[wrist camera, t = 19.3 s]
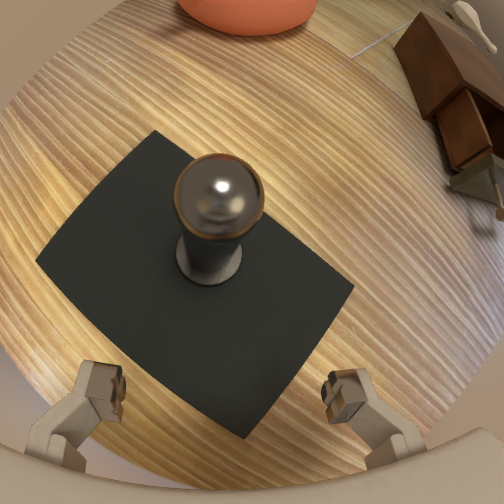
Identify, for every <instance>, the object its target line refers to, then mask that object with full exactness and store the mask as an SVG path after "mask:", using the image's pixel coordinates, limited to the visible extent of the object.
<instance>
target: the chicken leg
mask: <svg viewBox="0 0 504 504" xmlns="http://www.w3.org/2000/svg"><path fill="white" fill-rule="evenodd" d="M450 9H451V13H452V17H453V18H454V19H455V20H456V22H457V23H458V24H459V25H460V26H462V27H464V28H466V29H468V30H470V31H472V32H474V33H476V34H477V35H478V36H479V37H480V39H481V40H482V41H483V42H484V44H485V45H486V47H487V50H488V51H489V52H490V53H492V54H495V53H496V52H497V48H496V47H495V46H494V45H493V44H491V42H490V41H489V40H488V38H487V37H486V36H485V34H484V33H483V32H482V30H481V27H480V23H479V19H478V15H477V13H476V11H475V10H474V9H473V8H472V7H471V6H470V5H469V4H467V3H465V2H462V1H460V0H459V1H457V2H456V3H454V4H453V5H451V6H450Z"/></svg>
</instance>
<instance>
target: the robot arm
mask: <svg viewBox="0 0 504 504" xmlns="http://www.w3.org/2000/svg"><path fill="white" fill-rule="evenodd" d="M328 378H329V379H328V380H327V381H325V382H324V384H323V386H322V390H321V396H322V401H323V403H324V404H325V405H326V406H327V409H326V411H325V412H326V415H327V418H328V422H329V424H337V423H345V422H347V424H348V425H349V426H350V427H351V428H352V429H353V430H354V431H355V432H356V433H357V434H358V435H359V436H360V437H361V438H362V439H363V440H364V441H365V442H366V443H367V444H368V445H369V446H370V448H371V449H372V450H373V451H372V452H371V453H370V454H368V455H367V456H366V457H365V459H364V460H365V463H366V467H367V471H363V472H359V473H355V474H351V475H347V476H342V477H338V478H333V479H328V480H323V481H317V482H311V483H305V484H298V485H290V486H282V487H272V488H260V489H242V490H197V489H179V488H167V487H157V486H149V485H141V484H134V483H128V482H123V481H117V480H112V479H107V478H102V477H98V476H94V475H90V474H85V469H86V459H85V458H84V457H83V456H82V455H81V454H80V453H79V452H78V451H77V450H76V449H77V448H78V447H79V446H80V445H81V444H82V442H83V441H84V440H85V439H86V438H87V437H88V436H89V434H90V433H91V432H92V431H93V430H94V429H95V427H96V426H97V425H98V424H99V423H100V422H101V420H106V421H112V422H119V423H121V420H122V413H123V407H122V404H121V402H122V401H123V400H124V399H125V395H126V381H125V377H124V376H122V368H121V366H119V365H113V364H106V363H100V362H96V361H89V360H83V362H82V363H81V366H80V369H79V372H78V375H77V378H76V382H75V385H74V388H73V392H72V394H69V393H68V394H67V395H66V396H65V397H64V398H63V399H61V400H60V401H59V402H58V403H57V404H56V405H54V406H53V407H52V408H51V409H50V410H49V411H47V412H46V413H45V414H44V415H43V416H42V417H41V418H39V419H38V420H37V421H36V422H35V423H34V424H32V426H31V429H30V433H29V437H28V441H27V445H26V449H25V452H24V453H21V452H19V451H16V450H14V449H12V448H9V447H7V446H5V445H3V444H1V443H0V504H504V445H503V443H502V442H501V440H500V439H499V438H498V437H496V436H495V435H494V434H492V433H491V432H489V431H488V430H486V429H484V428H482V427H478V428H475V429H473V430H471V431H469V432H467V433H465V434H463V435H461V436H459V437H457V438H455V439H453V440H451V441H448V442H446V443H444V444H441V445H439V446H437V447H434V448H432V449H430V450H427V448H426V445H425V443H424V441H423V438H422V435H421V433H420V431H419V428H418V426H416V425H415V424H414V423H412V422H411V421H410V420H409V419H407V418H406V417H405V416H403V415H402V414H401V413H400V412H398V411H397V410H396V409H394V408H393V407H392V406H391V405H389V404H388V403H387V402H386V401H384V400H383V399H382V398H381V399H379V398H378V395H377V393H376V391H375V388H374V386H373V384H372V381H371V379H370V376H369V374H368V372H367V370H366V369H365V368H359V369H348V370H339V371H332V372H330V373H329V375H328Z"/></svg>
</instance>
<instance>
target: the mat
mask: <svg viewBox="0 0 504 504" xmlns="http://www.w3.org/2000/svg"><path fill="white" fill-rule="evenodd" d="M194 160H196V159H194V158H193V157H192V156H190V155H189V154H188V153H186V152H185V151H183V150H182V149H181V148H179V147H178V146H177V145H175V144H174V143H172V142H171V141H170V140H168V139H167V138H166V137H164V136H163V135H161V134H160V133H159V132H157V131H156V130H154V131H153V132H152V133H151V134H150V135H149V136H148V137H147V138H145V139H144V140H143V141H142V142H141V143H140V144H139V145H138V146H137V147H136V148H134V149H133V150H132V151H131V152H130V153H129V154H128V155H127V156H126V157H125V158H124V159H123V160H122V161H121V162H120V163H119V164H118V165H117V166H116V167H115V168H114V169H113V170H112V171H111V172H110V173H109V174H108V175H107V176H106V177H105V178H104V179H103V180H102V181H101V182H100V183H99V184H98V185H97V186H96V187H95V188H94V190H93V191H92V192H91V193H90V194H89V195H88V196H87V197H86V198H85V199H84V201H83V202H82V203H81V204H80V205H79V206H78V207H77V208H76V210H75V211H74V212H73V213H72V214H71V215H70V217H69V218H68V219H67V220H66V221H65V223H64V224H63V225H62V226H61V227H60V229H59V230H58V231H57V232H56V234H55V235H54V236H53V237H52V239H51V240H50V241H49V243H48V244H47V245H46V247H45V248H44V249H43V250H42V252H41V253H40V255H39V256H38V257H37V259H36V260H35V261H36V262H37V263H38V265H39V266H40V267H41V268H42V270H43V271H44V272H45V273H46V274H47V275H48V277H49V278H50V279H51V280H52V281H53V282H54V283H55V285H56V286H57V287H58V288H59V289H60V290H61V291H62V292H63V294H64V295H65V296H66V297H67V298H68V299H69V300H70V301H71V302H72V303H73V304H74V305H75V306H76V307H77V308H78V309H79V310H80V311H81V313H82V314H83V315H84V316H85V317H86V318H87V319H88V320H89V321H90V322H91V323H93V324H94V325H95V326H96V327H97V328H98V329H99V330H100V331H101V332H102V333H103V334H104V335H105V336H106V337H107V338H108V339H109V340H110V341H112V342H113V343H114V344H115V345H116V346H117V347H118V348H119V349H120V350H122V351H123V352H124V353H125V354H126V355H127V356H128V357H130V358H131V359H132V360H133V361H134V362H135V363H137V364H138V365H139V366H140V367H141V368H143V369H144V370H145V371H146V372H148V373H149V374H150V375H151V376H152V377H154V378H155V379H156V380H158V381H159V382H160V383H161V384H163V385H164V386H165V387H167V388H168V389H169V390H171V391H172V392H173V393H175V394H176V395H177V396H179V397H180V398H181V399H183V400H184V401H186V402H187V403H188V404H190V405H191V406H193V407H194V408H196V409H197V410H198V411H200V412H201V413H203V414H204V415H206V416H207V417H209V418H210V419H212V420H213V421H215V422H216V423H218V424H220V425H221V426H223V427H224V428H226V429H228V430H229V431H231V432H232V433H234V434H236V435H237V436H239V437H241V438H242V439H245V438H246V437H247V436H248V435H249V433H250V432H251V431H252V430H253V429H254V428H255V426H256V425H257V424H258V423H259V421H260V420H261V419H262V418H263V417H264V415H265V414H266V413H267V412H268V410H269V409H270V408H271V407H272V405H273V404H274V403H275V401H276V400H277V399H278V398H279V396H280V395H281V394H282V392H283V391H284V390H285V389H286V387H287V386H288V385H289V383H290V382H291V381H292V379H293V378H294V376H295V375H296V374H297V372H298V371H299V370H300V368H301V367H302V365H303V364H304V363H305V361H306V360H307V358H308V357H309V356H310V354H311V353H312V351H313V350H314V348H315V347H316V346H317V344H318V343H319V341H320V340H321V338H322V337H323V335H324V334H325V332H326V331H327V329H328V328H329V326H330V325H331V323H332V322H333V320H334V319H335V317H336V315H337V314H338V312H339V311H340V309H341V308H342V306H343V304H344V303H345V301H346V300H347V298H348V296H349V295H350V293H351V291H352V290H353V288H354V285H353V284H352V283H350V282H349V281H348V280H347V279H346V278H345V277H343V276H342V275H341V274H340V273H339V272H337V271H336V270H335V269H334V268H333V267H331V266H330V265H329V264H328V263H327V262H325V261H324V260H323V259H322V258H321V257H319V256H318V255H317V254H316V253H315V252H313V251H312V250H311V249H310V248H308V247H307V246H306V245H305V244H304V243H302V242H301V241H300V240H299V239H297V238H296V237H295V236H294V235H292V234H291V233H290V232H289V231H287V230H286V229H285V228H284V227H283V226H281V225H280V224H279V223H277V222H276V221H275V220H274V219H272V218H271V217H270V216H269V215H267V214H266V213H265V212H264V211H263V212H262V215H261V218H260V220H259V222H258V223H257V225H256V226H255V227H254V229H253V230H252V231H251V232H250V233H249V234H248V235H246V236H245V237H243V239H242V241H241V244H242V249H243V257H242V262H241V265H240V267H239V269H238V271H237V272H236V273H235V275H234V276H233V277H232V278H231V279H230V280H229V281H227V282H226V283H224V284H222V285H220V286H216V287H201V286H198V285H195V284H193V283H191V282H190V281H189V280H187V279H186V278H185V277H184V276H183V274H182V273H181V271H180V270H179V267H178V265H177V261H176V257H175V248H176V243H177V240H178V238H179V236H180V234H181V233H182V227H181V225H180V224H179V222H178V220H177V218H176V216H175V213H174V209H173V202H172V198H173V190H174V186H175V183H176V181H177V179H178V177H179V175H180V174H181V172H182V171H183V170H184V169H185V167H186V166H187V165H189V164H190V163H191V162H193V161H194Z"/></svg>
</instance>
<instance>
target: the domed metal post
mask: <svg viewBox="0 0 504 504" xmlns="http://www.w3.org/2000/svg"><path fill="white" fill-rule="evenodd" d="M264 201H265V195H264V189H263V185H262V182H261V180H260V178H259V176H258V174H257V173H256V171H255V170H254V169H253V168H252V167H251V166H250V165H249V164H248V163H247V162H245V161H244V160H242V159H240V158H239V157H236V156H233V155H230V154H224V153H214V154H208V155H205V156H202V157H200V158H197V159H196V160H194V161H193V162H191V163H190V164H189V165H187V166H186V167H185V169H184V170H183V171H182V172H181V174H180V175H179V177H178V179H177V181H176V183H175V186H174V190H173V198H172V202H173V209H174V213H175V216H176V218H177V220H178V222H179V224H180V225H181V227H182V233H181V234H180V236H179V238H178V240H177V243H176V248H175V257H176V261H177V265H178V267H179V270H180V271H181V273H182V274H183V276H184V277H185V278H186V279H187V280H189V281H190V282H191V283H193V284H195V285H198V286H201V287H216V286H220V285H222V284H224V283H226V282H227V281H229V280H230V279H231V278H232V277H233V276H234V275H235V273H236V272H237V271H238V269H239V267H240V265H241V262H242V257H243V249H242V244H241V241H242V239H243V237H245V236H246V235H248V234H249V233H250V232H251V231H252V230H253V229H254V227H255V226H256V225H257V223H258V222H259V220H260V218H261V215H262V212H263V209H264Z"/></svg>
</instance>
